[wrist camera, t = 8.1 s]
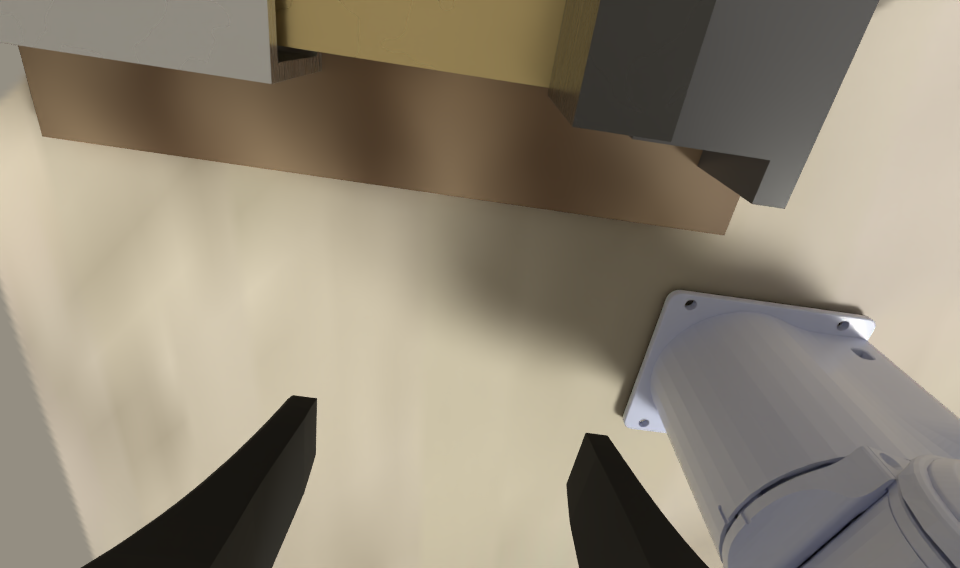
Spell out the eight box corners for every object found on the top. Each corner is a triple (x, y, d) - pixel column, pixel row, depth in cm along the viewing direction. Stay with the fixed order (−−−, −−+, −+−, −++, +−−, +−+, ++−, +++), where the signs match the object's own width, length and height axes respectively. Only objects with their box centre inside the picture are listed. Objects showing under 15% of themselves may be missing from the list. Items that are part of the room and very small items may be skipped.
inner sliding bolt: (739, 11, 15) (934, -2, 8) (705, 111, 17) (849, 169, 10) (210, -77, 15) (-34, -167, 8) (220, 35, 16) (21, 42, 9)
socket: (807, -53, 15) (915, -79, 11) (723, 170, 18) (784, 208, 15) (649, -80, 15) (704, -117, 11) (592, 150, 18) (619, 184, 14)
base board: (856, -140, 15) (879, -151, 14) (714, 226, 21) (724, 235, 20) (-45, -304, 14) (-83, -327, 13) (63, 131, 19) (42, 136, 18)
